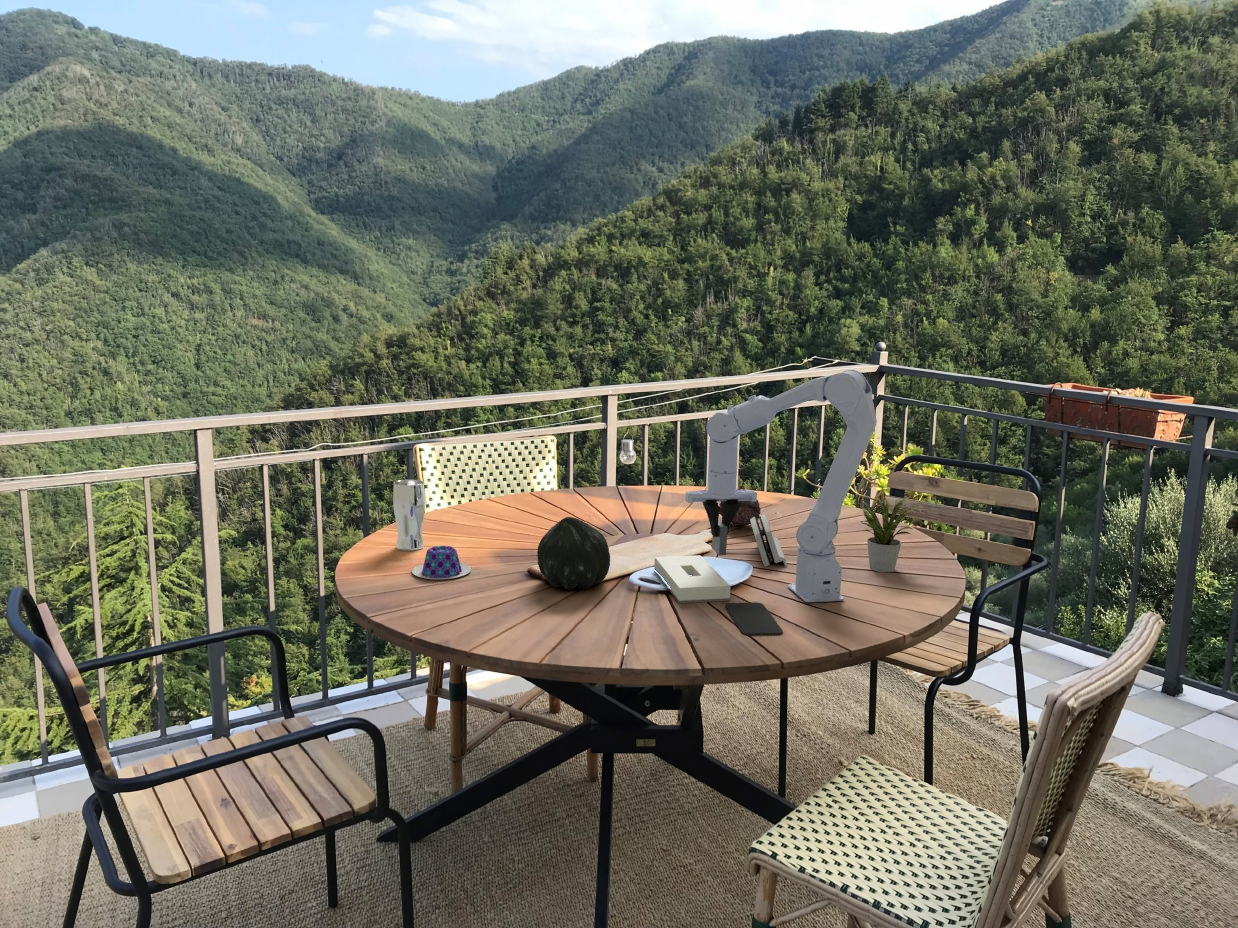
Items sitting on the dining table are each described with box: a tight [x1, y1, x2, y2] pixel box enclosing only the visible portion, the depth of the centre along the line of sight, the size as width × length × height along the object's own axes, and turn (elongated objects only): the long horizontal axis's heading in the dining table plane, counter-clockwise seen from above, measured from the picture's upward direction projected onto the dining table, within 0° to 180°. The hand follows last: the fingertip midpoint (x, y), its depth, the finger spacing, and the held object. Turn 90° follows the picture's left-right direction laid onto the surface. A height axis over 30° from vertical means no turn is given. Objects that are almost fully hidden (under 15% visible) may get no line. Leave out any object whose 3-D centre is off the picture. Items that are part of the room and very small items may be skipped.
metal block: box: [711, 519, 729, 556], centre depth 177 cm, size 5×2×6 cm, turn 10°
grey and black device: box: [750, 514, 788, 567], centre depth 195 cm, size 17×5×10 cm, turn 175°
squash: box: [536, 516, 611, 591], centre depth 172 cm, size 14×15×15 cm
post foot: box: [653, 554, 731, 604], centre depth 174 cm, size 20×10×3 cm, turn 11°
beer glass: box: [392, 479, 426, 552], centre depth 195 cm, size 7×7×15 cm
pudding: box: [411, 545, 472, 580], centre depth 179 cm, size 12×12×5 cm
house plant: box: [860, 496, 922, 573], centre depth 187 cm, size 14×14×16 cm
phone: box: [724, 601, 784, 637], centre depth 156 cm, size 7×1×15 cm
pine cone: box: [719, 487, 761, 527], centre depth 219 cm, size 18×10×10 cm, turn 12°
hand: (719, 535), depth 178 cm, fingers closed on metal block
